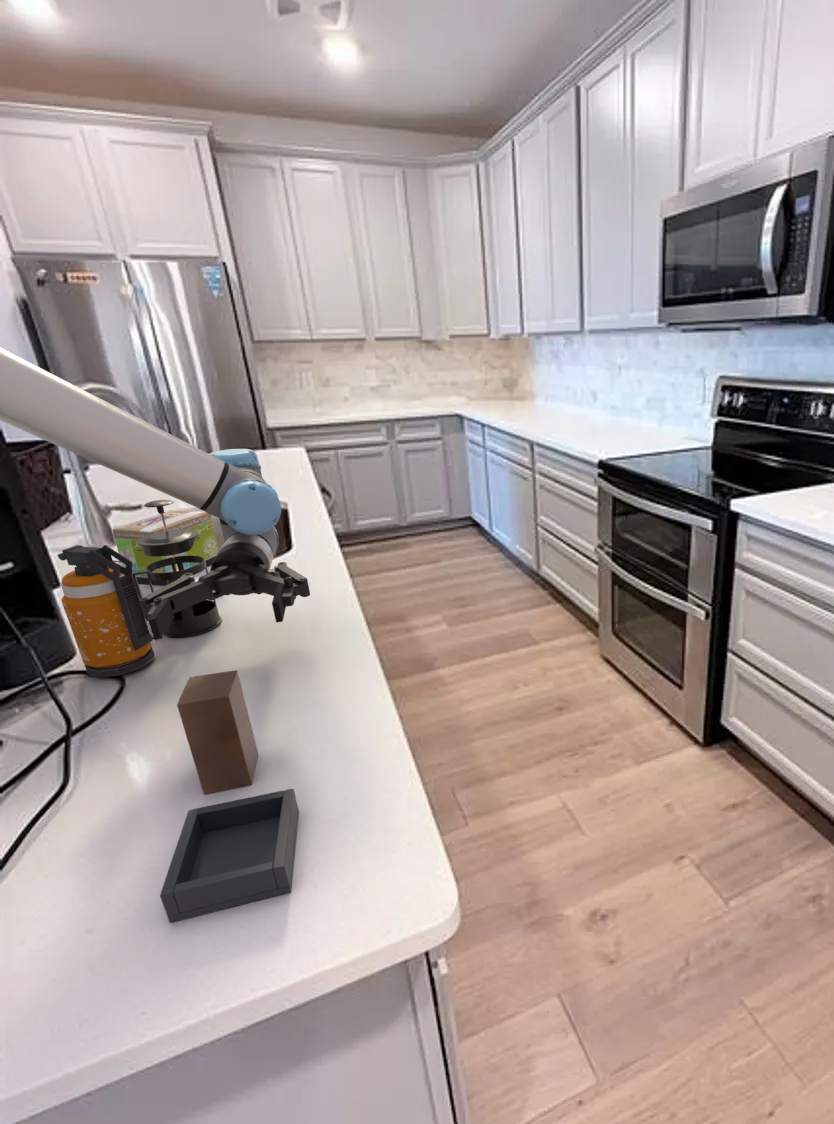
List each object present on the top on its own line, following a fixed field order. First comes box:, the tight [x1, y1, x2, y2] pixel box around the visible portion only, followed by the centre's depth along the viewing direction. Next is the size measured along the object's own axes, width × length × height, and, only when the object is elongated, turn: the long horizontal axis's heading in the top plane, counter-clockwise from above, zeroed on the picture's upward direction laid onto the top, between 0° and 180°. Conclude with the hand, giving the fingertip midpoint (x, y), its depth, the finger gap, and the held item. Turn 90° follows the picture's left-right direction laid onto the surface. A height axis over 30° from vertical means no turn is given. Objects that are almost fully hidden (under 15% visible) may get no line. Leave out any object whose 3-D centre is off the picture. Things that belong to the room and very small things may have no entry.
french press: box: [132, 499, 223, 639], centre depth 106 cm, size 12×9×23 cm
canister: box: [57, 544, 155, 678], centre depth 93 cm, size 9×11×20 cm
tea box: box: [112, 509, 220, 600], centre depth 125 cm, size 15×10×15 cm, turn 170°
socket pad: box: [159, 788, 300, 923], centre depth 60 cm, size 10×11×3 cm
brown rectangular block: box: [176, 669, 259, 795], centre depth 70 cm, size 5×6×12 cm
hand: (217, 620), depth 75 cm, fingers open, 13 cm apart
